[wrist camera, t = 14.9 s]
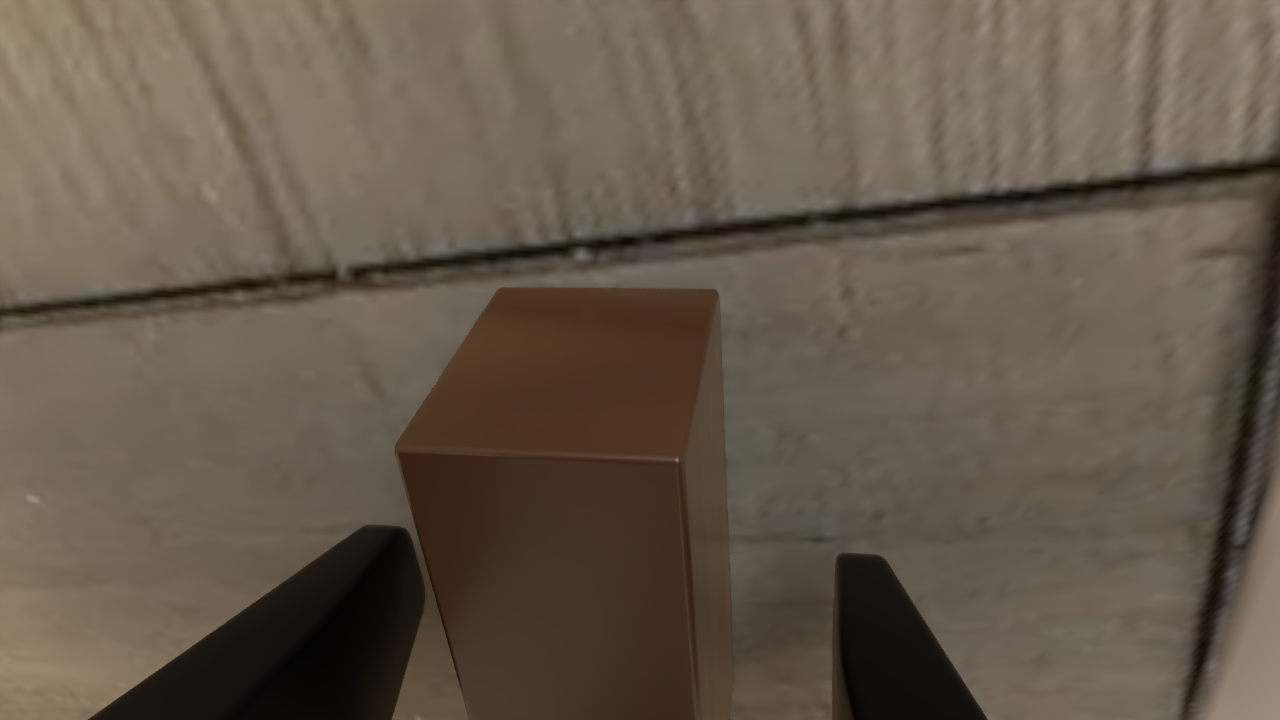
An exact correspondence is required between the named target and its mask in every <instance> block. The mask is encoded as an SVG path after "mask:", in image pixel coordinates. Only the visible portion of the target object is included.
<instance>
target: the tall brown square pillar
mask: <svg viewBox="0 0 1280 720" xmlns="http://www.w3.org/2000/svg"><path fill="white" fill-rule="evenodd" d="M395 454H396V458H397V462H398V465H399V469H400V472H401V476H402V480H403V483H404V487H405V490H406V494H407V498H408V501H409V505H410V508H411V512H412V515H413V519H414V523H415V526H416V530H417V533H418V537H419V541H420V544H421V548H422V551H423V555H424V559H425V562H426V566H427V569H428V573H429V576H430V580H431V584H432V587H433V591H434V594H435V598H436V602H437V605H438V609H439V612H440V616H441V620H442V623H443V627H444V630H445V634H446V637H447V641H448V645H449V648H450V652H451V655H452V659H453V663H454V666H455V670H456V673H457V677H458V681H459V684H460V688H461V691H462V695H463V699H464V702H465V706H466V709H467V713H468V716H469V720H729V719H730V709H731V699H732V689H733V679H734V670H733V643H732V617H731V590H730V564H729V537H728V511H727V484H726V458H725V431H724V405H723V378H722V352H721V325H720V299H719V294H718V292H717V290H714V289H637V288H500V289H498V290H497V291H496V293H495V294H494V296H493V297H492V299H491V300H490V302H489V303H488V305H487V306H486V308H485V309H484V311H483V313H482V314H481V316H480V317H479V319H478V320H477V322H476V323H475V325H474V326H473V328H472V329H471V331H470V332H469V334H468V335H467V337H466V338H465V340H464V341H463V343H462V344H461V346H460V347H459V349H458V350H457V352H456V354H455V355H454V357H453V358H452V360H451V361H450V363H449V364H448V366H447V367H446V369H445V370H444V372H443V373H442V375H441V376H440V378H439V379H438V381H437V382H436V384H435V385H434V387H433V388H432V390H431V391H430V393H429V395H428V396H427V398H426V399H425V401H424V402H423V404H422V405H421V407H420V408H419V410H418V411H417V413H416V414H415V416H414V417H413V419H412V420H411V422H410V423H409V425H408V426H407V428H406V429H405V431H404V432H403V434H402V435H401V437H400V439H399V440H398V442H397V443H396V446H395Z"/></svg>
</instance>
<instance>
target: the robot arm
mask: <svg viewBox="0 0 1280 720" xmlns="http://www.w3.org/2000/svg"><path fill="white" fill-rule="evenodd" d="M424 605H425V585H424V581H423V577H422V574H421V570H420V567H419V563H418V560H417V556H416V553H415V549H414V546H413V542H412V539H411V536H410V534H409V533H408V531H407V530H406V529H405V528H402V527H400V526H386V525H366V526H364V527H362V528H360V529H358V530H357V531H355V532H354V533H352V534H351V535H350V536H348V537H347V538H345V539H344V540H342V541H341V542H340V543H338V544H337V545H335V546H334V547H333V548H331V549H330V550H328V551H327V552H325V553H324V554H323V555H321V556H320V557H318V558H317V559H315V560H314V561H313V562H311V563H310V564H308V565H307V566H306V567H304V568H303V569H301V570H300V571H298V572H297V573H296V574H294V575H293V576H291V577H290V578H288V579H287V580H286V581H284V582H283V583H281V584H280V585H279V586H277V587H276V588H274V589H273V590H271V591H270V592H269V593H267V594H266V595H264V596H263V597H261V598H260V599H259V600H257V601H256V602H254V603H253V604H252V605H250V606H249V607H247V608H246V609H244V610H243V611H242V612H240V613H239V614H237V615H236V616H234V617H233V618H232V619H230V620H229V621H227V622H226V623H225V624H223V625H222V626H220V627H219V628H217V629H216V630H215V631H213V632H212V633H210V634H209V635H207V636H206V637H205V638H203V639H202V640H200V641H199V642H198V643H196V644H195V645H193V646H192V647H190V648H189V649H188V650H186V651H185V652H183V653H182V654H180V655H179V656H178V657H176V658H175V659H173V660H172V661H171V662H169V663H168V664H166V665H165V666H163V667H162V668H161V669H159V670H158V671H156V672H155V673H153V674H152V675H151V676H149V677H148V678H146V679H145V680H143V681H142V682H141V683H139V684H138V685H136V686H135V687H134V688H132V689H131V690H129V691H128V692H126V693H125V694H124V695H122V696H121V697H119V698H118V699H116V700H115V701H114V702H112V703H111V704H109V705H108V706H107V707H105V708H104V709H102V710H101V711H99V712H98V713H97V714H95V715H94V716H92V717H91V718H89V719H88V720H392V716H393V713H394V710H395V706H396V703H397V699H398V696H399V692H400V689H401V686H402V682H403V679H404V675H405V672H406V668H407V665H408V662H409V658H410V655H411V651H412V648H413V644H414V641H415V638H416V634H417V631H418V627H419V624H420V620H421V617H422V614H423V610H424ZM832 720H988V719H987V718H986V716H985V714H984V713H983V711H982V710H981V708H980V707H979V705H978V703H977V702H976V700H975V699H974V697H973V696H972V694H971V693H970V691H969V689H968V688H967V686H966V685H965V683H964V682H963V680H962V678H961V677H960V675H959V674H958V672H957V671H956V669H955V667H954V666H953V664H952V663H951V661H950V660H949V658H948V656H947V655H946V653H945V652H944V650H943V649H942V647H941V646H940V644H939V642H938V641H937V639H936V638H935V636H934V635H933V633H932V631H931V630H930V628H929V627H928V625H927V624H926V622H925V620H924V619H923V617H922V616H921V614H920V613H919V611H918V609H917V608H916V606H915V605H914V603H913V602H912V600H911V599H910V597H909V595H908V594H907V592H906V591H905V589H904V588H903V586H902V584H901V583H900V581H899V580H898V578H897V577H896V575H895V573H894V572H893V570H892V569H891V567H890V566H889V564H888V563H887V561H886V560H885V559H884V558H883V557H881V556H879V555H872V554H856V553H841V554H839V555H838V556H837V558H836V563H835V581H834V602H833V629H832Z"/></svg>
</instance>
